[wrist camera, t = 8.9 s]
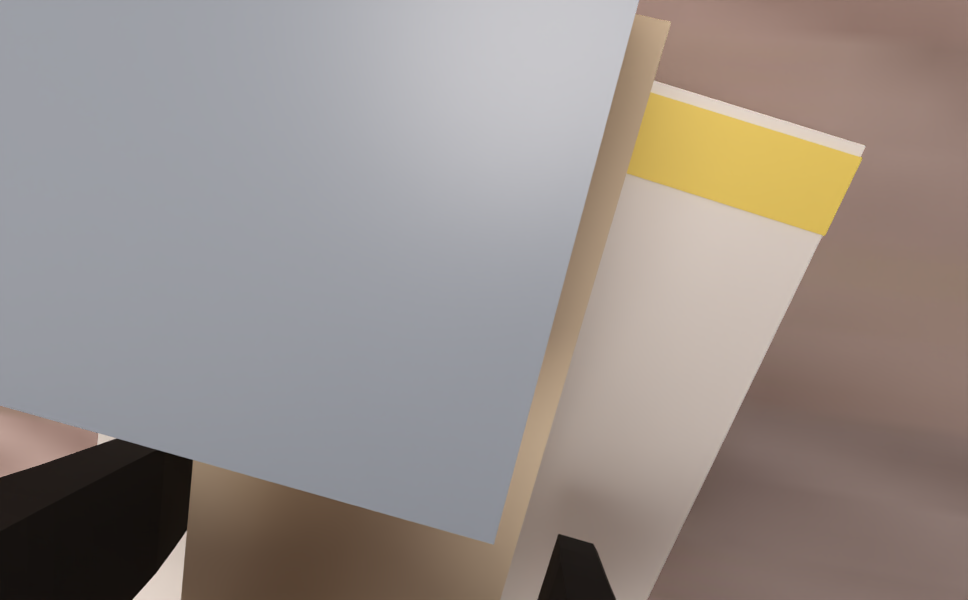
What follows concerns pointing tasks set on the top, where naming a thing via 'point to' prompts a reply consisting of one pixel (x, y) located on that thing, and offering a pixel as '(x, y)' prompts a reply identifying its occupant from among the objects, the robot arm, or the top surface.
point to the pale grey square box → (299, 230)
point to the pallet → (387, 539)
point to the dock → (667, 332)
